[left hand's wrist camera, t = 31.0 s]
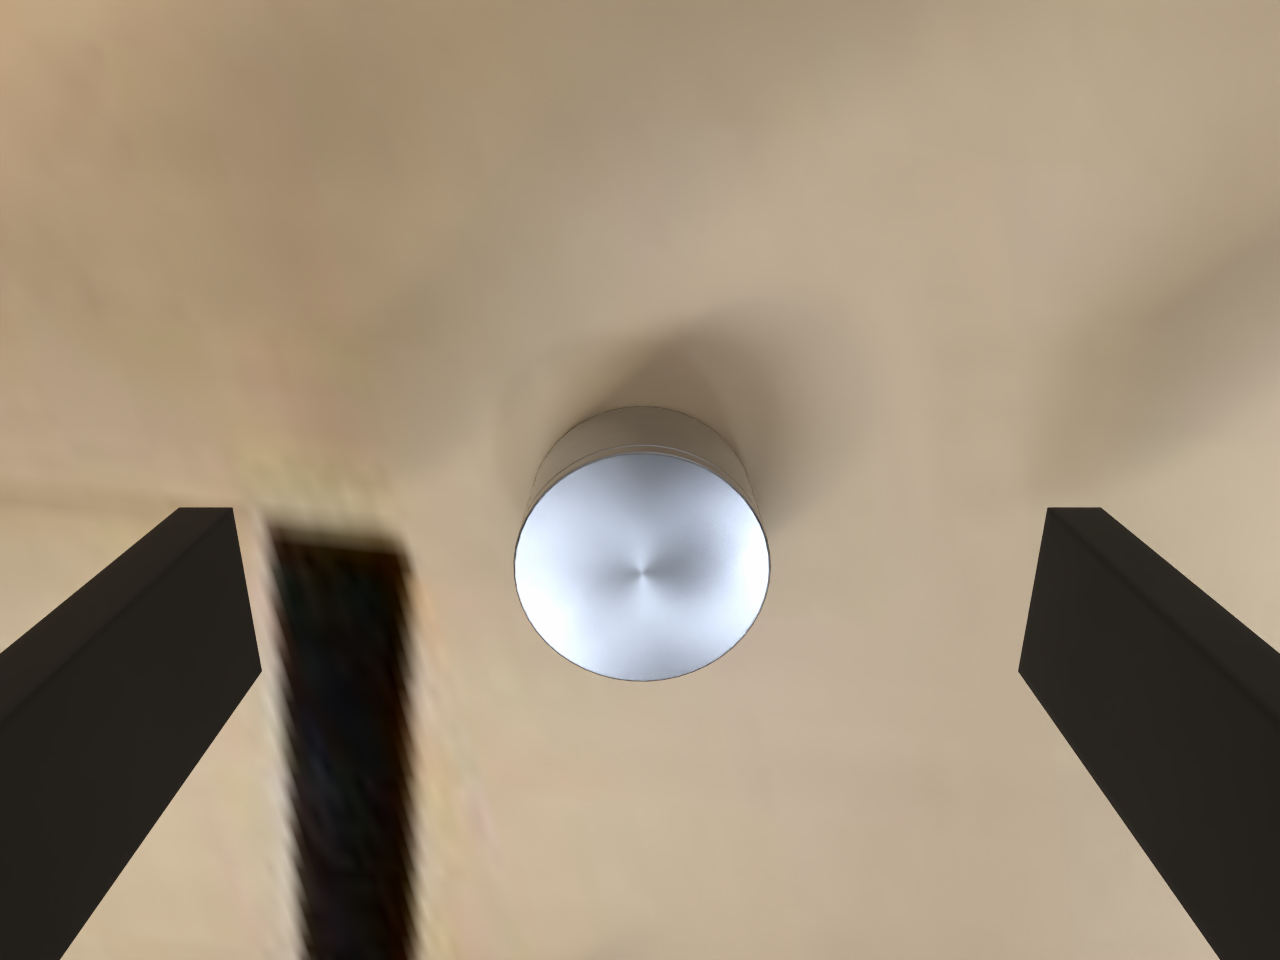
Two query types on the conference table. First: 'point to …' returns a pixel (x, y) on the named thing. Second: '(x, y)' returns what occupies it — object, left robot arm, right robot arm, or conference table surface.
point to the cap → (642, 546)
